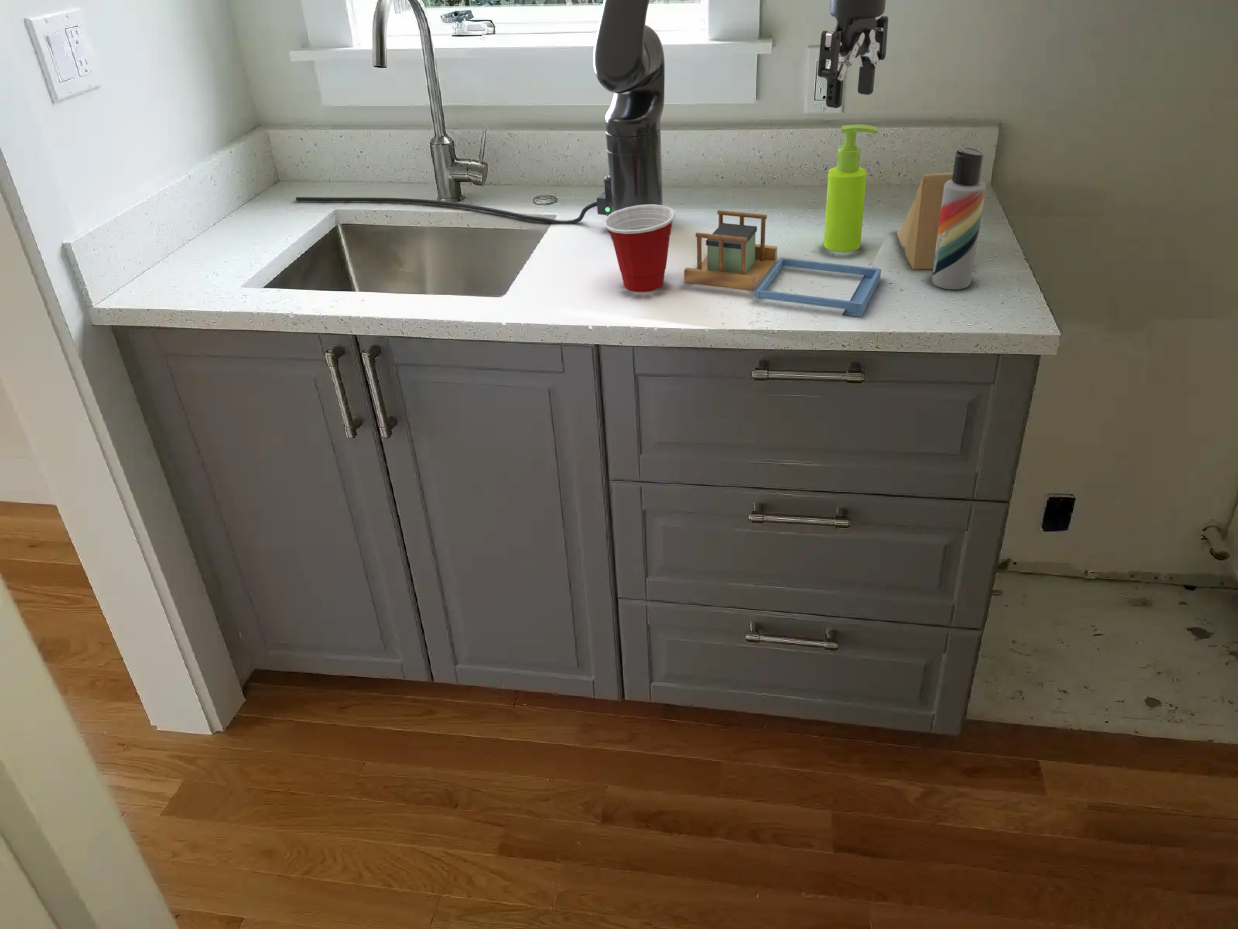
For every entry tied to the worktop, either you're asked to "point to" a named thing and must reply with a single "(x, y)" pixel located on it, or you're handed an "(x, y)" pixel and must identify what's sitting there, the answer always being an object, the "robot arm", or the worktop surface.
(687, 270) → the dish rack
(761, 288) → the tray
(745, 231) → the tub
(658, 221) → the plastic cup
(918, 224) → the sandwich container
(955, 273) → the lotion bottle
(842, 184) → the soap dispenser
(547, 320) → the worktop surface
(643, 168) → the robot arm
